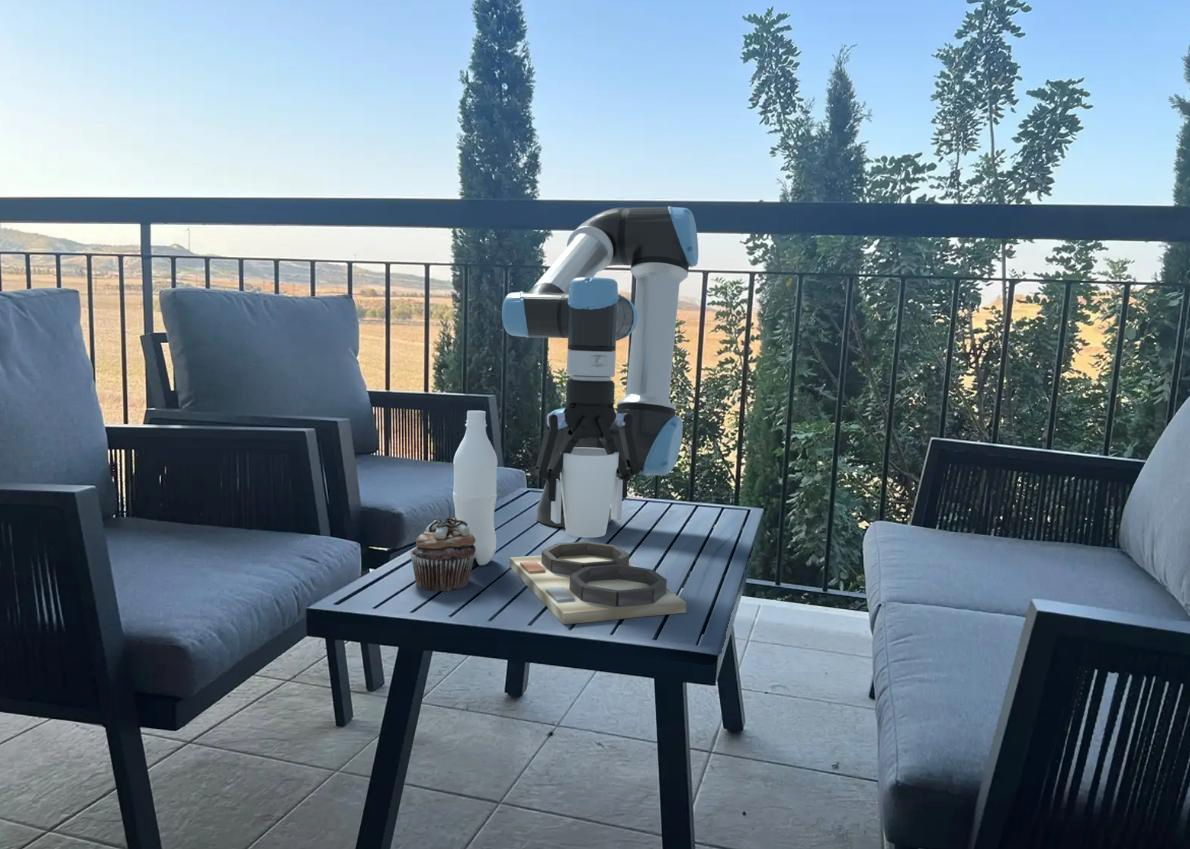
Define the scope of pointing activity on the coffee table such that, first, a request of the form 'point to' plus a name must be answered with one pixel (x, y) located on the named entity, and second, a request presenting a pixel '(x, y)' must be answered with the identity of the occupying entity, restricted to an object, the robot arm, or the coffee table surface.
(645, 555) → the coffee table surface
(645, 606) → the socket board
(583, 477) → the foam cup
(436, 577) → the cupcake
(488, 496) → the water bottle
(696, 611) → the coffee table surface
